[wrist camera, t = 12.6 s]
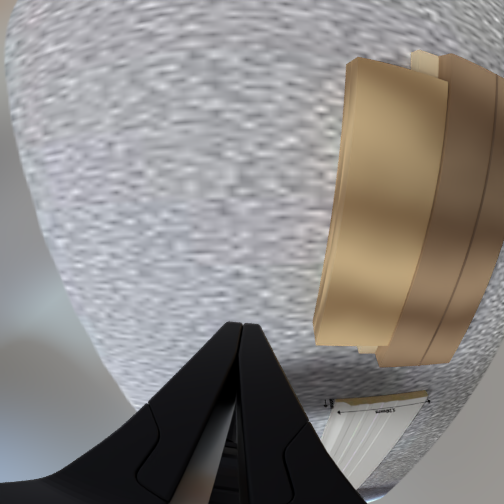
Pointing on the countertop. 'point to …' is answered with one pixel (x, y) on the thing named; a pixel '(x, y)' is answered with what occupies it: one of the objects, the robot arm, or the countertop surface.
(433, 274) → the floor board
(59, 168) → the countertop surface
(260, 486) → the robot arm
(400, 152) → the plank
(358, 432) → the baseboard molding
